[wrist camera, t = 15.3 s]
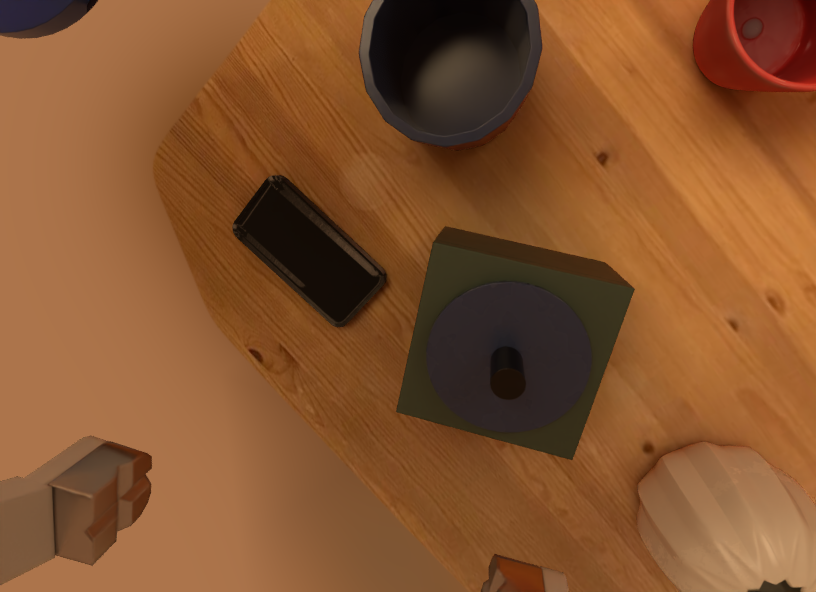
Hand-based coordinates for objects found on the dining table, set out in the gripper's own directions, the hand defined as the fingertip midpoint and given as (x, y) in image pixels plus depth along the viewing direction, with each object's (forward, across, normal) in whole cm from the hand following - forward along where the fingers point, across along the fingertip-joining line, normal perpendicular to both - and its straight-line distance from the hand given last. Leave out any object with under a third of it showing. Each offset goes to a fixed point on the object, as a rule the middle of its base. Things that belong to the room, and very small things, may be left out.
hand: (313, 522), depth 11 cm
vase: (+36, -30, +18) cm, 50 cm away
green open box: (+36, -7, +6) cm, 37 cm away
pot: (+36, +2, -14) cm, 39 cm away
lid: (+26, -7, +6) cm, 27 cm away
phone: (+36, +13, +4) cm, 38 cm away
